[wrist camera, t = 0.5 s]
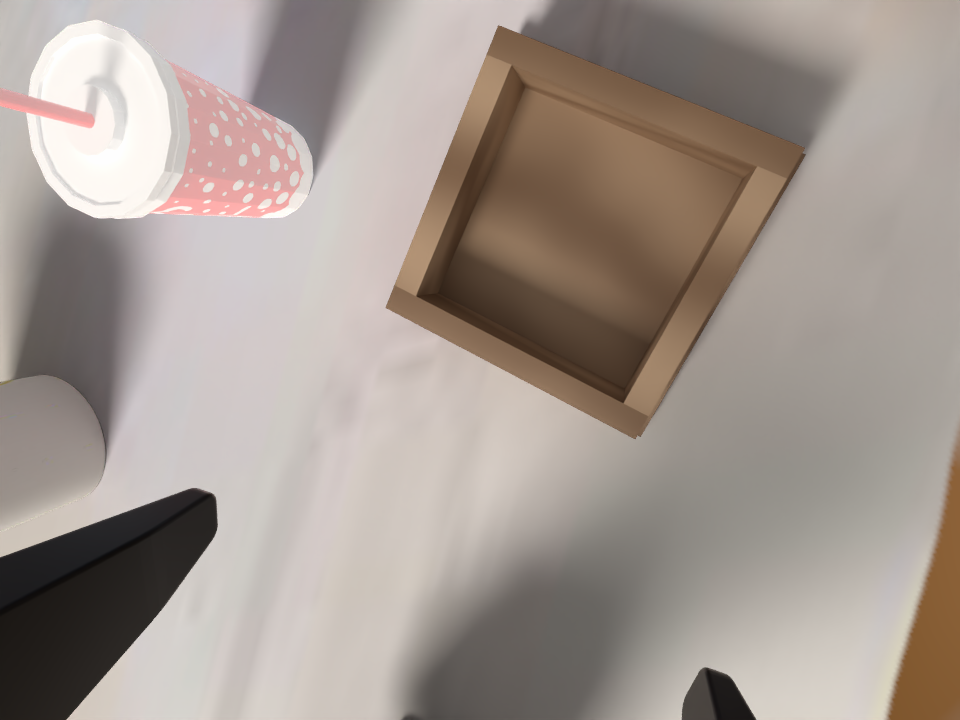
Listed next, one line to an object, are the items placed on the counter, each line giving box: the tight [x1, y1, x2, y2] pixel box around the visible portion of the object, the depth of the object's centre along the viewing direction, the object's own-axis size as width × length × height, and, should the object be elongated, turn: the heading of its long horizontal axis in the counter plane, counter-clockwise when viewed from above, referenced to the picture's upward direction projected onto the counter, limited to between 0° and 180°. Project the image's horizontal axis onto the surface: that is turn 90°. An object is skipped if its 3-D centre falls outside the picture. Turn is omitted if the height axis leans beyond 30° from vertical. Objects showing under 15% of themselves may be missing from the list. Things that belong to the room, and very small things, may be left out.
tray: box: [386, 25, 805, 439], centre depth 21 cm, size 12×12×4 cm
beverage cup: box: [0, 20, 313, 219], centre depth 19 cm, size 6×6×14 cm
